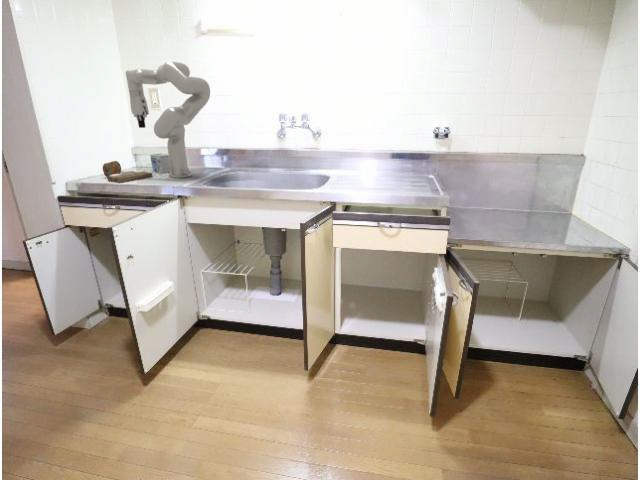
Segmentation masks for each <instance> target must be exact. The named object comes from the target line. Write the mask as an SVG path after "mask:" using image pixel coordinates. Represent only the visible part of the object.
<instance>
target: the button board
mask: <svg viewBox="0 0 640 480" xmlns="http://www.w3.org/2000/svg"><path fill="white" fill-rule="evenodd" d="M121 175H122V173H121ZM106 178H107V182H110V181H111V182H110V183H116V182H117V184H121V183H127V182H133V181H134V182H135V181H139V180H144V179H149V178H150V179H151V178H153V173H152V172H147V171H145V172H144V173H134V174H132V175H122V176H120V177H110V176H108V177H106Z"/></svg>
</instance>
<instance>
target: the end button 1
mask: <svg viewBox="0 0 640 480" xmlns="http://www.w3.org/2000/svg"><path fill="white" fill-rule="evenodd" d="M121 174H122V173H121ZM121 174H113V175H110V177H120V176H122V175H121Z"/></svg>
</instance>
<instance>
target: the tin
mask: <svg viewBox="0 0 640 480" xmlns="http://www.w3.org/2000/svg"><path fill="white" fill-rule="evenodd" d="M121 171H122V166H121V164H120V162H119V161H117V160H114V161H113V160H112V161H110V162H106V163H104V164H103V165H102V172H103V175H104V176H105V177H106V178H107V177H108V176H110V175H113V174H122V173H121Z"/></svg>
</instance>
